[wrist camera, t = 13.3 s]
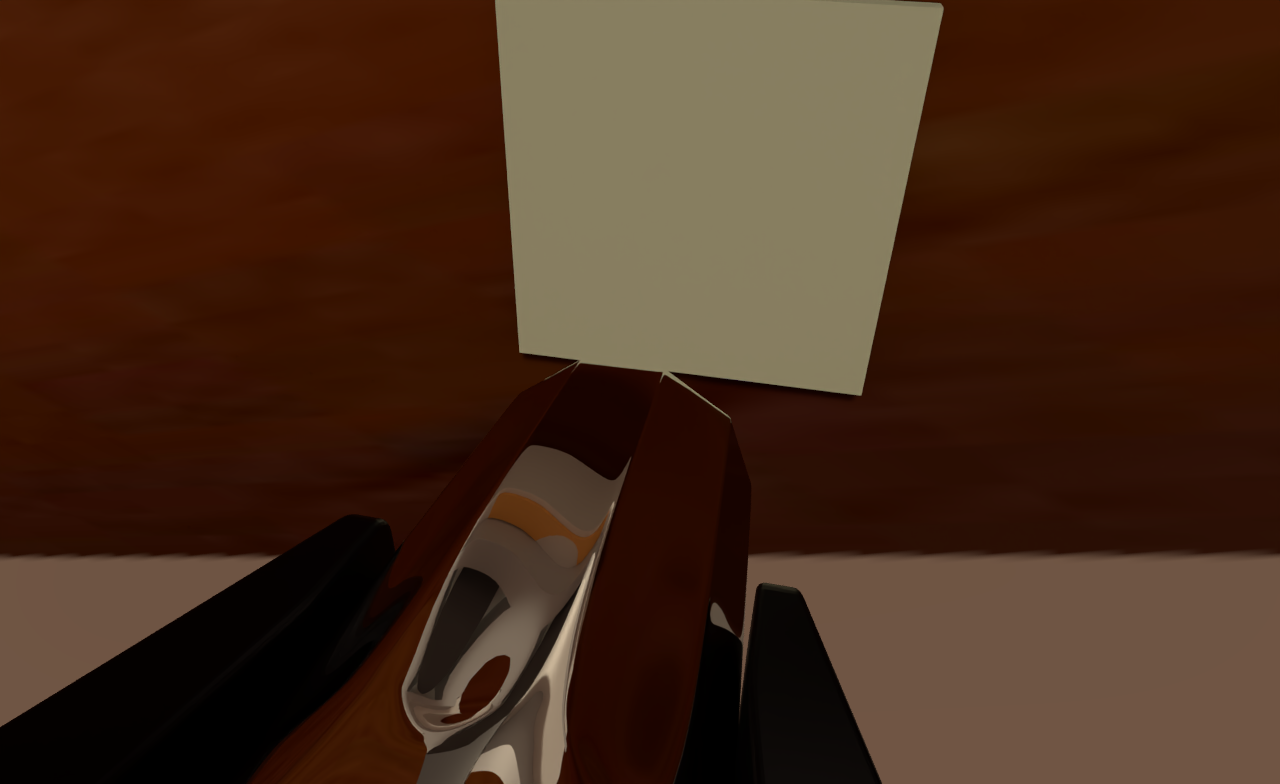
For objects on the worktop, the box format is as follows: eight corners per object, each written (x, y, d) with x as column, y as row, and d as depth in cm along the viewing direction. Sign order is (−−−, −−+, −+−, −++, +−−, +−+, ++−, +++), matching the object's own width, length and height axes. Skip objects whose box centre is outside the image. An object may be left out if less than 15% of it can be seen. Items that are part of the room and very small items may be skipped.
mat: (940, 2, 14) (943, 8, 14) (860, 383, 19) (861, 396, 18) (503, -22, 16) (493, -18, 15) (525, 341, 20) (519, 352, 20)
